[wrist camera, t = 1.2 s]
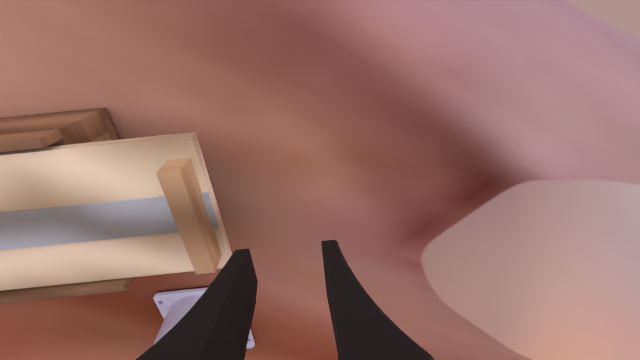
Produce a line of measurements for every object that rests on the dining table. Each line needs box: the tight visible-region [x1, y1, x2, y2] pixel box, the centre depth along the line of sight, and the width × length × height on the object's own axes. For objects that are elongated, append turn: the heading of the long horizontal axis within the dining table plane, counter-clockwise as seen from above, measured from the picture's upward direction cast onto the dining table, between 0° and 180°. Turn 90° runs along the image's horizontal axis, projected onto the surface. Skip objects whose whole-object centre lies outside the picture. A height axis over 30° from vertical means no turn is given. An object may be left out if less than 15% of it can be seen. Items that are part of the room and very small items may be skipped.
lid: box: [0, 132, 232, 291], centre depth 18 cm, size 9×16×2 cm, turn 95°
